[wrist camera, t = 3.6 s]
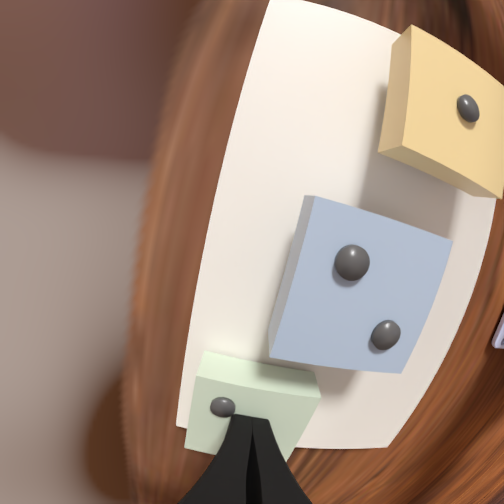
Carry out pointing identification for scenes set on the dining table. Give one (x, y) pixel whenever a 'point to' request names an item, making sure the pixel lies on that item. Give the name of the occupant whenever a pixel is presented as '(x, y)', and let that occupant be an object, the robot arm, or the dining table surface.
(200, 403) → the tile three
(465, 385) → the dining table surface
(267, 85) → the panel
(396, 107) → the tile one
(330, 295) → the tile two
